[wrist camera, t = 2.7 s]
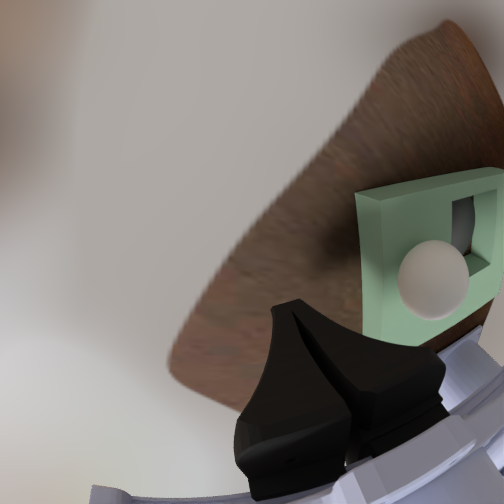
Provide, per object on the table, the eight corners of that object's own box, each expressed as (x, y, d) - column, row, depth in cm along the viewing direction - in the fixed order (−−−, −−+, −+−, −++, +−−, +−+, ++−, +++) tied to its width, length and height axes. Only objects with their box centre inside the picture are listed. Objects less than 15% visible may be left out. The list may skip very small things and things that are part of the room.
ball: (432, 284, 14) (474, 316, 10) (382, 306, 14) (423, 348, 10) (436, 223, 12) (488, 246, 9) (382, 240, 12) (435, 273, 8)
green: (481, 282, 18) (498, 293, 16) (362, 344, 18) (378, 365, 15) (490, 166, 14) (511, 171, 12) (354, 192, 14) (379, 201, 11)
